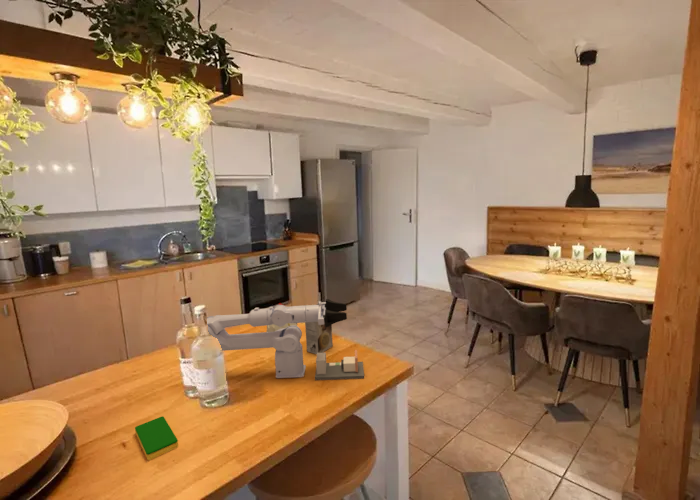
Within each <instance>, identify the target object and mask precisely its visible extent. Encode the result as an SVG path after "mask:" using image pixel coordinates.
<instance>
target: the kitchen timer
mask: <svg viewBox="0 0 700 500" xmlns="http://www.w3.org/2000/svg"><path fill="white" fill-rule="evenodd" d="M278 305H284V304H283V303H281V302H279V303H278ZM291 325H295V326H297V327H299V326H298V323H286V324H285V325H284V326H282V327H279V326H276V325H274V324H272V325H266V332H274V331H277V330H279V329H283V328H287V327H288V326H291Z"/></svg>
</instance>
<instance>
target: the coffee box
mask: <svg viewBox="0 0 700 500" xmlns="http://www.w3.org/2000/svg"><path fill="white" fill-rule="evenodd" d="M304 323H305V324H304V326H305V341H306V351H307V352H308V353H311V354H314V355H317V353H325V352H326V351H327V350H329V349H331V348H332V347H333V345H334V344H333V328H332V325H333V324H332V325H330V326H329V327H325V323H324V325H318V322H304Z"/></svg>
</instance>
